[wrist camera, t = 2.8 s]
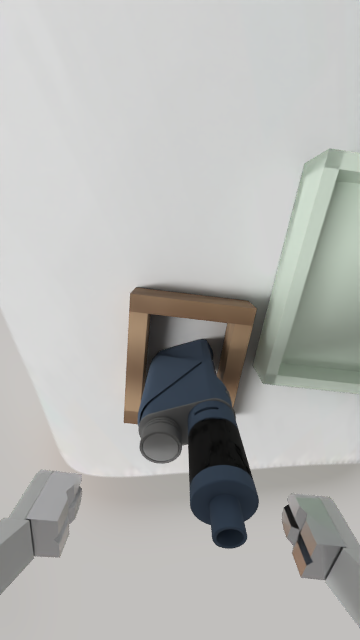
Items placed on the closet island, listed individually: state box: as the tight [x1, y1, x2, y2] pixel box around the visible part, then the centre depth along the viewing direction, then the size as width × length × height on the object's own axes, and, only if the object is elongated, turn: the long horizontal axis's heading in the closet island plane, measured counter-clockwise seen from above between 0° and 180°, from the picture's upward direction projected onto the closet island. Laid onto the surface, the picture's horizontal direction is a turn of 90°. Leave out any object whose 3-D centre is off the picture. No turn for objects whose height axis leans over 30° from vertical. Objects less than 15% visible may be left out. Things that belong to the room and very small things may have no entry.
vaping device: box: [138, 339, 259, 548], centre depth 13 cm, size 3×5×12 cm, turn 107°
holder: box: [124, 287, 257, 424], centre depth 18 cm, size 10×8×2 cm
